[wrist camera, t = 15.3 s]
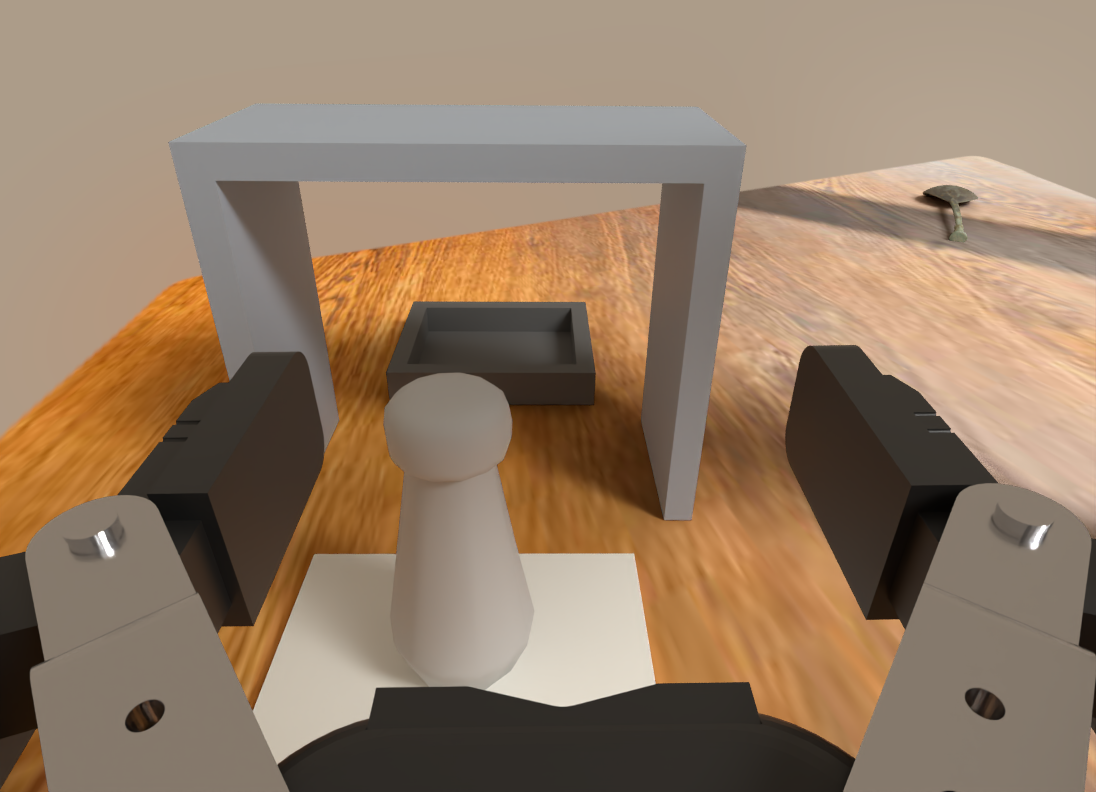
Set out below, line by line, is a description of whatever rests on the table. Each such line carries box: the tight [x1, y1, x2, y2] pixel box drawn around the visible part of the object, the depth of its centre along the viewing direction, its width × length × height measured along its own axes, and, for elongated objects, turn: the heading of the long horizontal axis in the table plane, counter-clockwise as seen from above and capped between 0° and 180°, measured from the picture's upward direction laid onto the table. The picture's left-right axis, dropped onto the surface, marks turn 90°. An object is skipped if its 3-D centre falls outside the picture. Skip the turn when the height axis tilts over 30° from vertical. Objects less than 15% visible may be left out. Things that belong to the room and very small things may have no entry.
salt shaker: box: [384, 373, 534, 690], centre depth 27 cm, size 6×6×13 cm
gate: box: [168, 104, 746, 520], centre depth 37 cm, size 23×10×20 cm, turn 91°
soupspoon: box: [923, 185, 978, 242], centre depth 88 cm, size 22×3×7 cm
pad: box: [253, 554, 656, 764], centre depth 29 cm, size 16×14×1 cm
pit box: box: [386, 302, 595, 405], centre depth 53 cm, size 14×12×2 cm
